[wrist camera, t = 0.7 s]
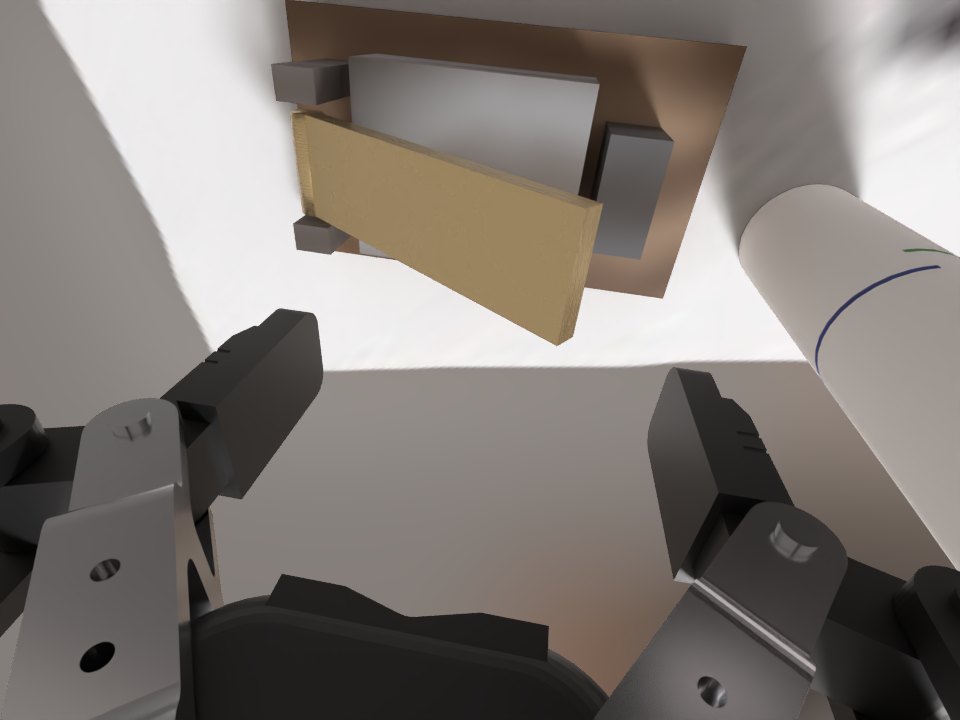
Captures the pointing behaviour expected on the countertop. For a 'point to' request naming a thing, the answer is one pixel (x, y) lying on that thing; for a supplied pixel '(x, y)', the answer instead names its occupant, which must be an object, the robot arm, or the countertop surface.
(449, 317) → the countertop surface
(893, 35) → the countertop surface
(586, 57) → the stand
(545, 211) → the plate
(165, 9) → the countertop surface
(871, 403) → the cylindrical container
